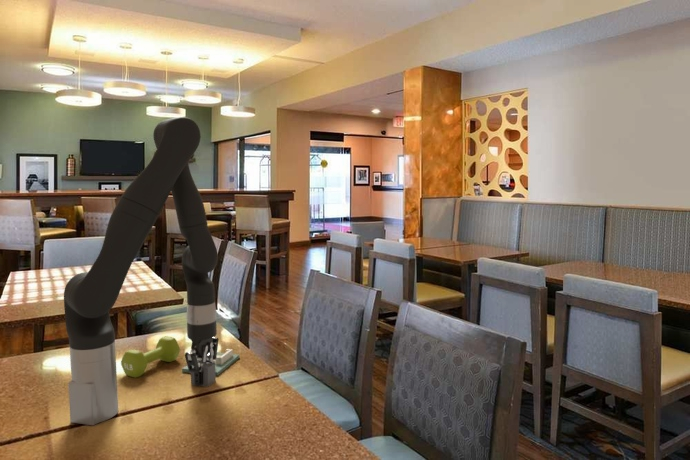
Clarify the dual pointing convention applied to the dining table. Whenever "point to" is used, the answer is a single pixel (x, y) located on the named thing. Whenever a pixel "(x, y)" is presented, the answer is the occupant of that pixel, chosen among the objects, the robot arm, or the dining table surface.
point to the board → (220, 361)
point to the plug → (206, 374)
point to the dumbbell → (149, 356)
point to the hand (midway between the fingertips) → (203, 380)
